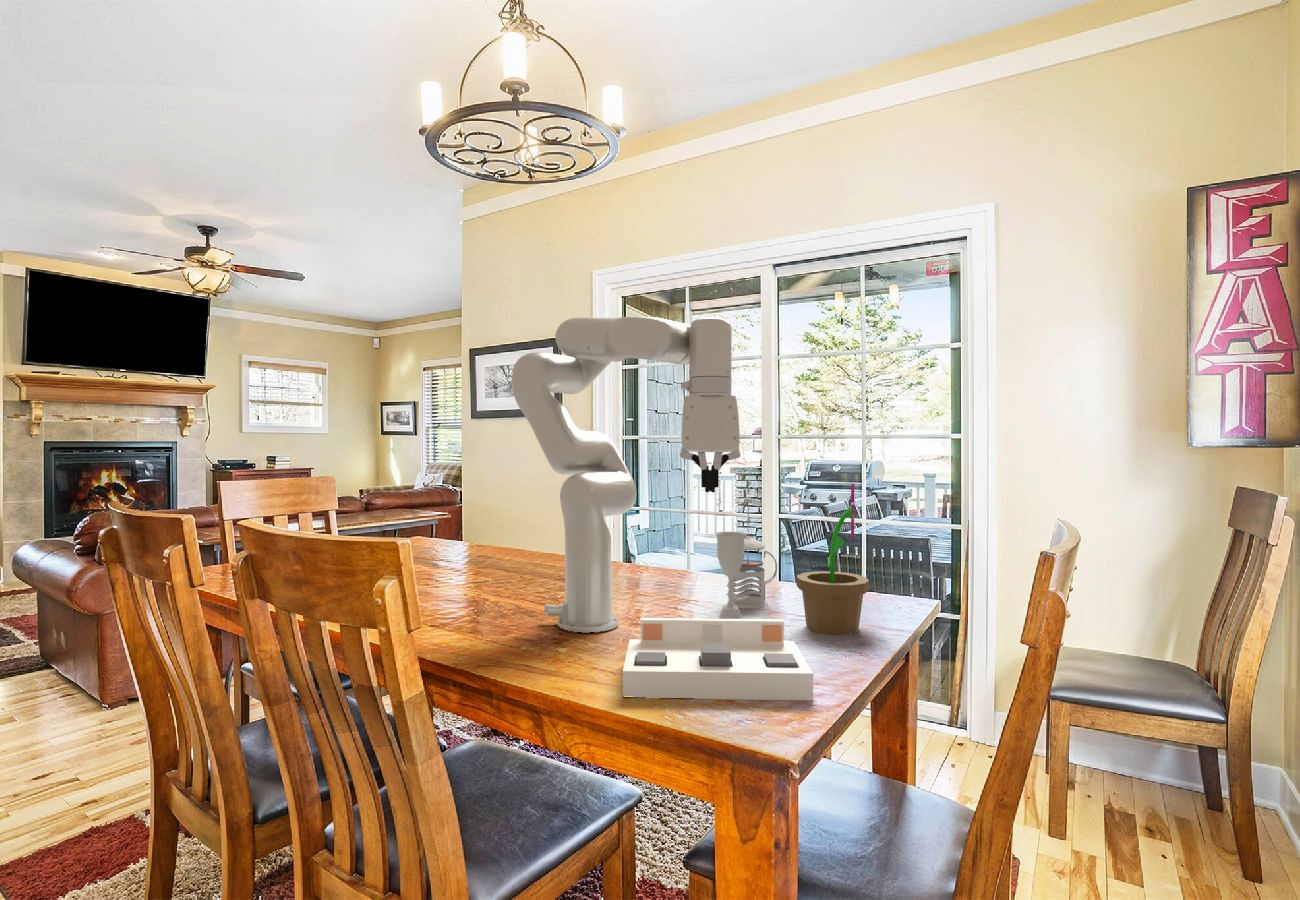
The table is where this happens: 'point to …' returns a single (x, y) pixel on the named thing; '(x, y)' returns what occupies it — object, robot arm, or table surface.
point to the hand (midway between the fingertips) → (709, 491)
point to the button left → (650, 659)
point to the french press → (751, 596)
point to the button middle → (715, 655)
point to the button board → (704, 682)
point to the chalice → (730, 566)
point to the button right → (780, 660)
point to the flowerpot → (834, 591)
